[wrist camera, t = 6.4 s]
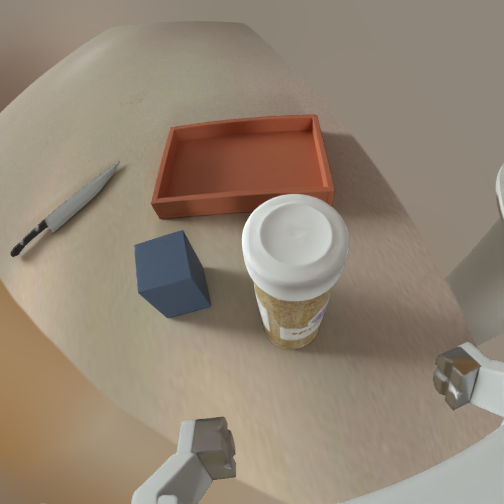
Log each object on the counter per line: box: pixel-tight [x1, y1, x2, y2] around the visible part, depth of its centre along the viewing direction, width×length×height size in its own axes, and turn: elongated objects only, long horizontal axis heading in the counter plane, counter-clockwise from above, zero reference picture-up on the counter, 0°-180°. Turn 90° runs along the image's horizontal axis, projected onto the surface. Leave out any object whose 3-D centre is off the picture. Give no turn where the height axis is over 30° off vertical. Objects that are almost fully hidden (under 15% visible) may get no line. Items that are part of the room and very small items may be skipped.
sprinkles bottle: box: [242, 194, 349, 350], centre depth 18 cm, size 5×5×13 cm
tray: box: [151, 115, 335, 219], centre depth 31 cm, size 17×12×3 cm
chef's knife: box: [11, 162, 119, 257], centre depth 32 cm, size 19×1×3 cm
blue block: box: [134, 230, 211, 318], centre depth 24 cm, size 4×4×6 cm
